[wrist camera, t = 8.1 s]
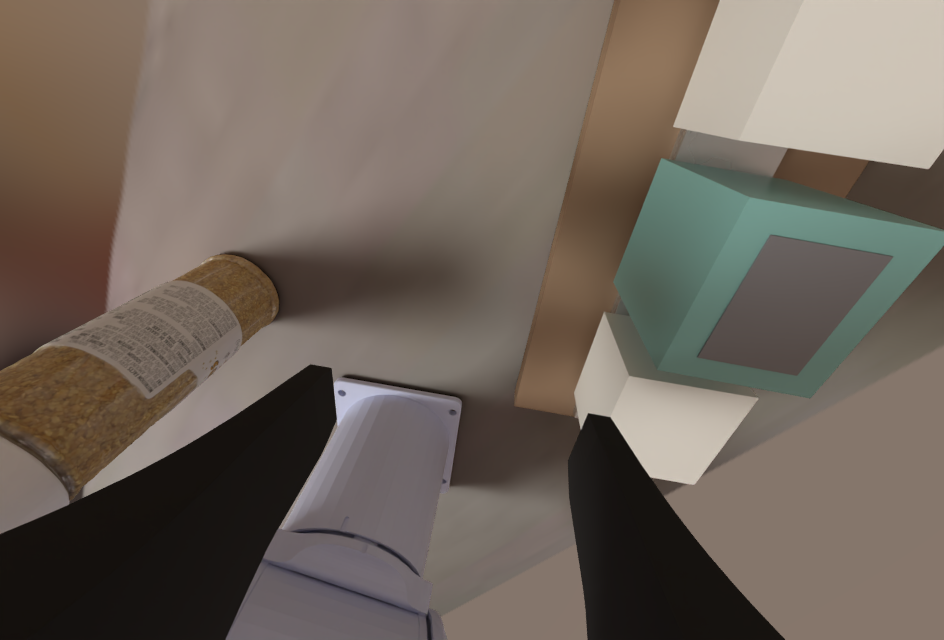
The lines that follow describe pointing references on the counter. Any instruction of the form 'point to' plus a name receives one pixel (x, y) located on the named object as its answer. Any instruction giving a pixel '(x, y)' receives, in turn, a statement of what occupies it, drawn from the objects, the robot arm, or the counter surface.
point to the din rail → (718, 166)
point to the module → (761, 276)
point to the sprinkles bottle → (119, 380)
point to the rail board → (626, 184)
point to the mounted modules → (785, 125)
